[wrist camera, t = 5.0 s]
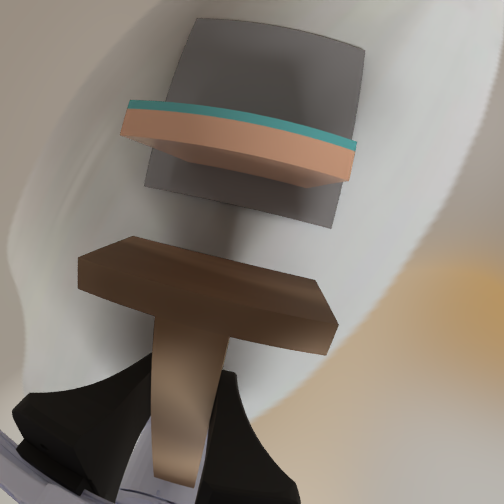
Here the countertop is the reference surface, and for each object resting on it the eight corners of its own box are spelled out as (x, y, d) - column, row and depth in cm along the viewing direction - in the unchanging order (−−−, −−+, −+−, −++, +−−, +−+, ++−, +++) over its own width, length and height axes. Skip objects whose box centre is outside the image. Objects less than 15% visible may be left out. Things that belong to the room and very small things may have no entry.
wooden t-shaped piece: (251, 448, 15) (247, 498, 11) (129, 414, 15) (105, 457, 11) (315, 279, 12) (338, 324, 8) (133, 235, 12) (78, 257, 8)
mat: (329, 227, 16) (331, 228, 15) (147, 186, 16) (143, 186, 15) (362, 53, 13) (365, 50, 13) (198, 21, 13) (197, 18, 13)
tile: (306, 188, 15) (348, 180, 7) (188, 162, 15) (119, 135, 7) (311, 168, 15) (357, 141, 7) (192, 142, 15) (129, 99, 7)
